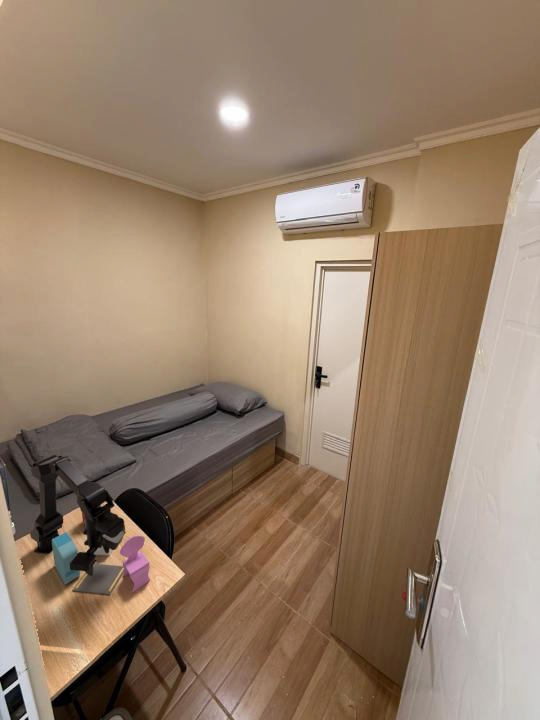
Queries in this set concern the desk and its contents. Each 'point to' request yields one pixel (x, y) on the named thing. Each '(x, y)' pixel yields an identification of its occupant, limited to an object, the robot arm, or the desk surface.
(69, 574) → the data package
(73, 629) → the desk surface
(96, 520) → the robot arm
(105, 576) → the mat
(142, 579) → the toy chair
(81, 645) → the desk surface
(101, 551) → the white box
